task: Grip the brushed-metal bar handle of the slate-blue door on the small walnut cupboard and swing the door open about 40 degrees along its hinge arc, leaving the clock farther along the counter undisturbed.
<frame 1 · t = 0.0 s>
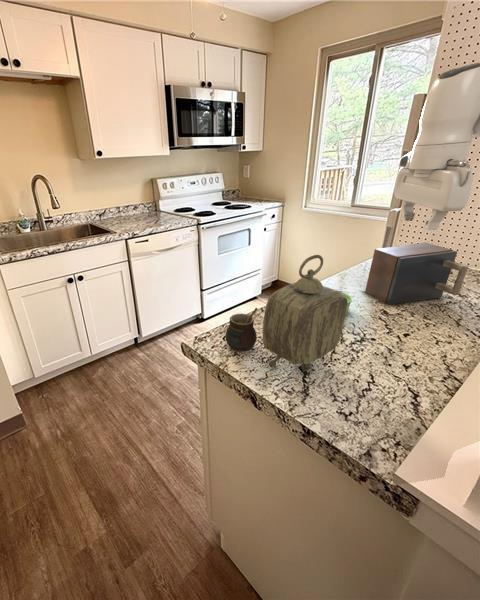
hand: (418, 224, 71), 25 cm above the countertop, tool pointing down, fingers open, 8 cm apart
cupboard door: (430, 281, 83), point 7 cm above the countertop, hinge at 0.0°
mate gourd: (240, 347, 77), on the countertop
cupboard: (399, 294, 93), on the countertop
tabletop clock: (298, 364, 69), on the countertop
ramekin: (330, 311, 88), on the countertop
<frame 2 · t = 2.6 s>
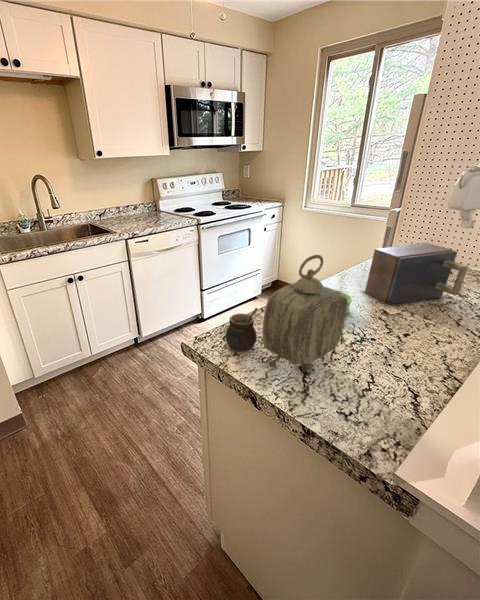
nothing on the countertop moved.
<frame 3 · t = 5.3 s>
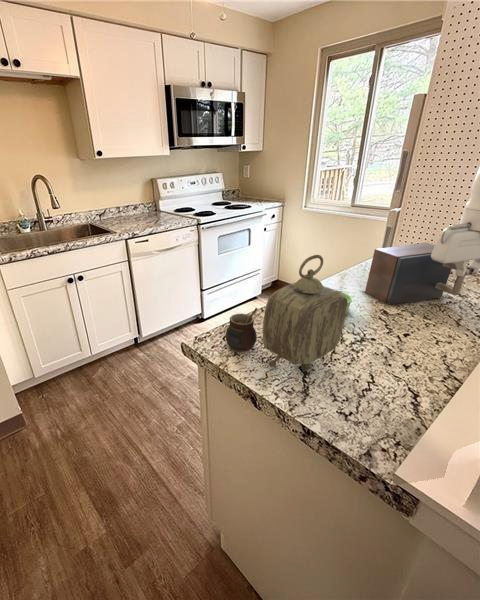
hand: (465, 274, 79), 10 cm above the countertop, tool pointing down, fingers closed on cupboard door
cupboard door: (430, 281, 83), point 7 cm above the countertop, hinge at 0.0°, touching gripper
everything else where it was.
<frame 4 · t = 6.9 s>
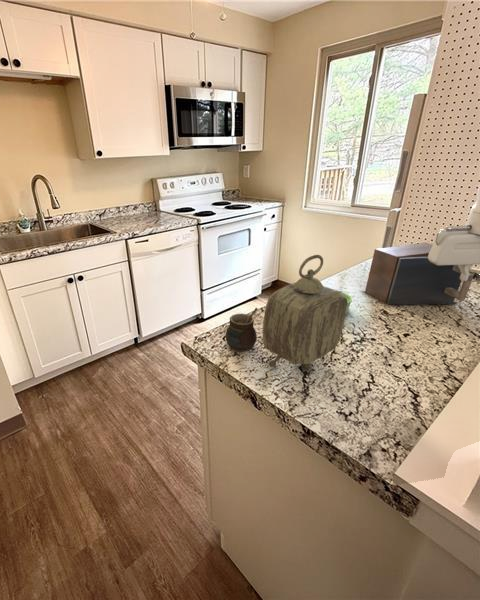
hand: (471, 280, 76), 10 cm above the countertop, tool pointing down, fingers closed on cupboard door
cupboard door: (433, 284, 82), point 7 cm above the countertop, hinge at 14.1°, touching gripper
everything else where it was.
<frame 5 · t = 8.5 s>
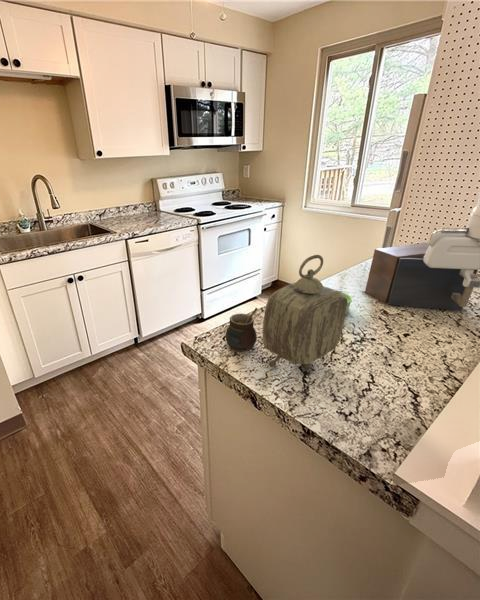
hand: (471, 286, 73), 10 cm above the countertop, tool pointing down, fingers closed
cupboard door: (434, 287, 80), point 7 cm above the countertop, hinge at 29.3°
everything else where it was.
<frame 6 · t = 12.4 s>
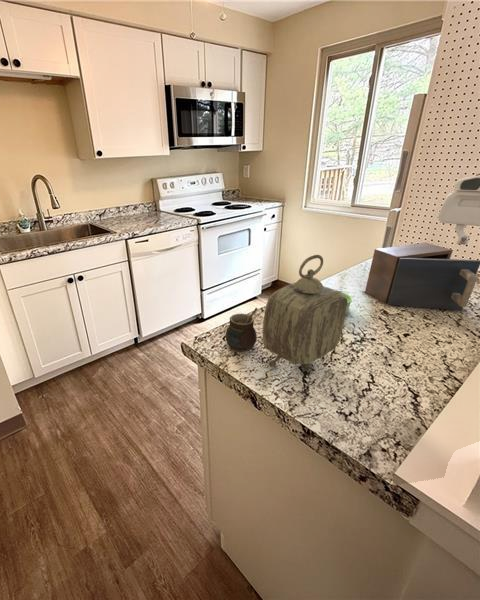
nothing on the countertop moved.
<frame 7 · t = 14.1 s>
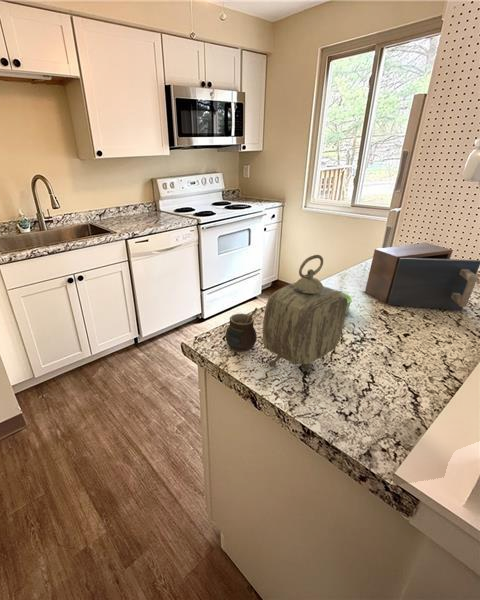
nothing on the countertop moved.
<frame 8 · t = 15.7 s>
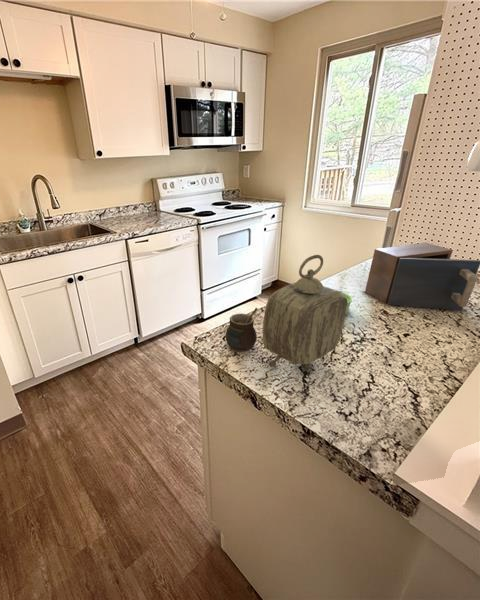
nothing on the countertop moved.
at the end: cupboard door at +29° (first picture: +0°); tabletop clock moved 0.2 cm from its start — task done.
